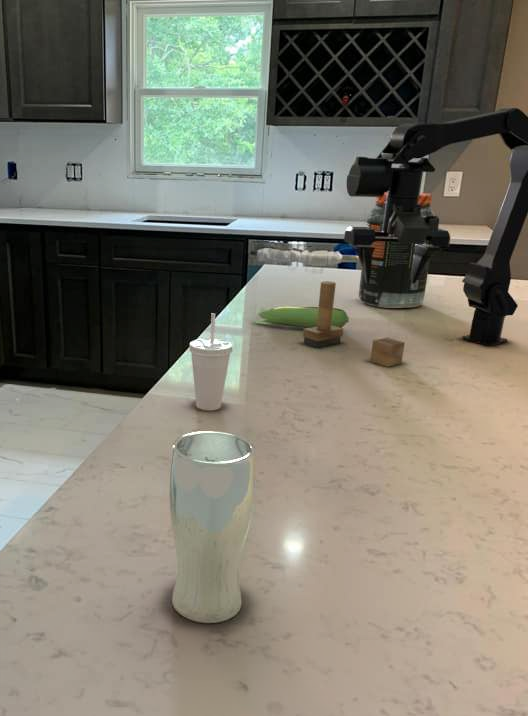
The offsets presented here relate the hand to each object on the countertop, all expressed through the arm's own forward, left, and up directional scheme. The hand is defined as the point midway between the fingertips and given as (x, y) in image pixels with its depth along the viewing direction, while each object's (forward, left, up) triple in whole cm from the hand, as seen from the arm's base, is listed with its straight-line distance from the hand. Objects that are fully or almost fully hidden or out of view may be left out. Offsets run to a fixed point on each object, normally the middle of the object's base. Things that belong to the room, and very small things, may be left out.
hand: (390, 282), depth 141 cm
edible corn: (+4, -18, -12) cm, 22 cm away
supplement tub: (-33, -24, -12) cm, 43 cm away
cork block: (+10, +9, -12) cm, 18 cm away
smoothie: (+52, +9, -12) cm, 54 cm away
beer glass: (+84, +48, -12) cm, 98 cm away
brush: (+10, -7, -12) cm, 17 cm away
